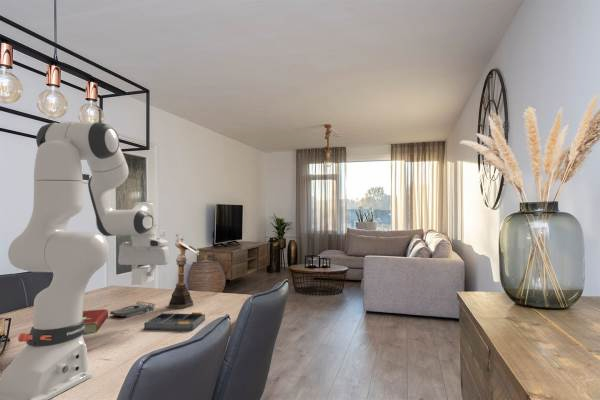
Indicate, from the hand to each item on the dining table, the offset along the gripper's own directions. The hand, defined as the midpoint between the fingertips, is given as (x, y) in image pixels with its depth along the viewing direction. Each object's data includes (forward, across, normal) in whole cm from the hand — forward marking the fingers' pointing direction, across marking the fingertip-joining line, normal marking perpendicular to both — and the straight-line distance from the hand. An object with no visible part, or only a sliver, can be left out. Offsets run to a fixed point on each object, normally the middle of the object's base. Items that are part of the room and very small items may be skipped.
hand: (143, 276), depth 141 cm
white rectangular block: (+2, 0, 0) cm, 2 cm away
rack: (+19, +14, 0) cm, 23 cm away
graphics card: (+20, -14, +16) cm, 29 cm away
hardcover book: (+20, -22, -3) cm, 30 cm away
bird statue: (+19, +5, +31) cm, 37 cm away
